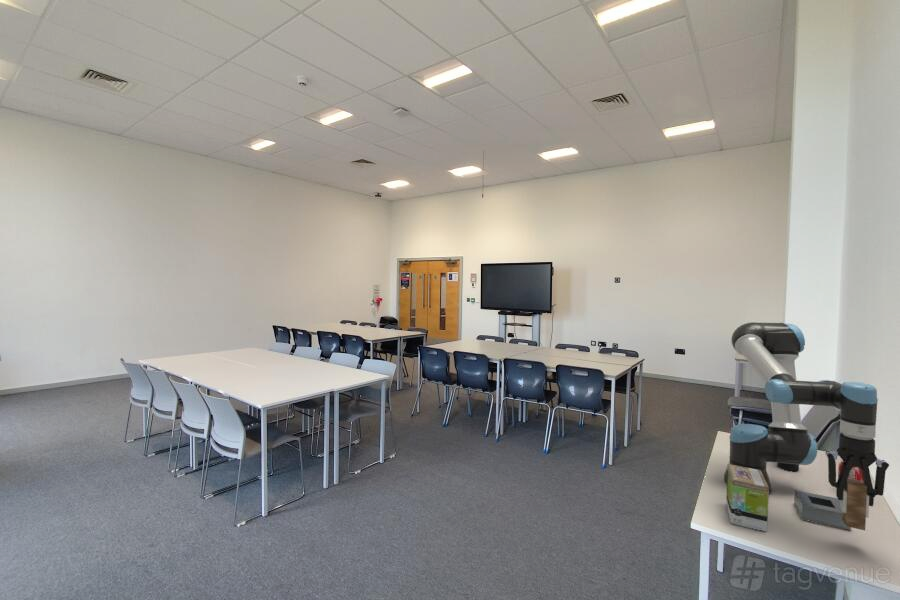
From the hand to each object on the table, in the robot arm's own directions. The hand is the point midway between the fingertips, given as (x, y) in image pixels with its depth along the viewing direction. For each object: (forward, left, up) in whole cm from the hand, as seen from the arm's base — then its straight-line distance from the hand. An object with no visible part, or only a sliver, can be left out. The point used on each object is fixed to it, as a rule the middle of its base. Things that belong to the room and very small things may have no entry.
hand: (854, 512), depth 122 cm
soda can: (+10, +44, -10) cm, 46 cm away
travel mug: (-6, +60, -10) cm, 61 cm away
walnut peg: (0, 0, -4) cm, 4 cm away
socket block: (-4, +17, -10) cm, 20 cm away
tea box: (-26, +3, -10) cm, 28 cm away
